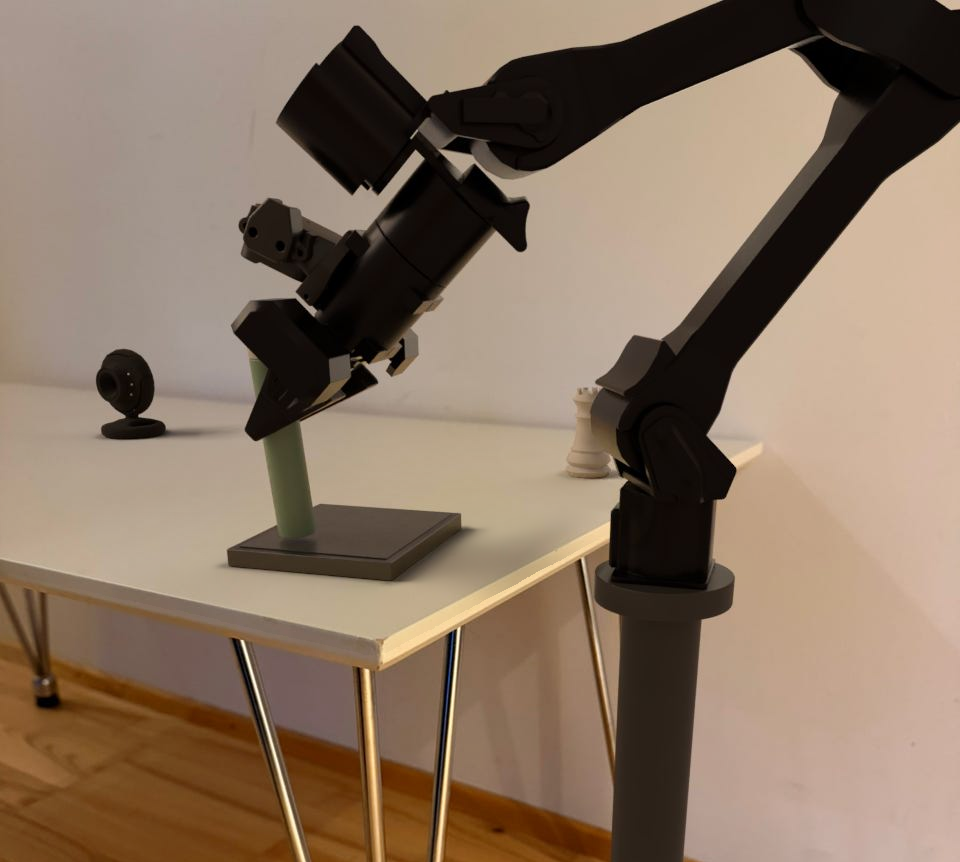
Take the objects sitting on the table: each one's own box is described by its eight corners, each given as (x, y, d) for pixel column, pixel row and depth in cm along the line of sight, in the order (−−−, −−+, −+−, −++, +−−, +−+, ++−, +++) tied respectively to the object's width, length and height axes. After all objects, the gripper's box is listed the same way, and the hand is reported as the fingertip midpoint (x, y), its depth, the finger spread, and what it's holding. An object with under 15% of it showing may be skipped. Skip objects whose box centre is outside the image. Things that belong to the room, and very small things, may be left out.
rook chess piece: (605, 468, 97) (608, 385, 94) (616, 477, 93) (619, 391, 90) (560, 470, 96) (562, 386, 94) (569, 479, 92) (571, 392, 89)
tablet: (461, 528, 76) (461, 512, 75) (391, 581, 63) (390, 562, 63) (320, 518, 79) (319, 502, 79) (228, 566, 67) (226, 548, 66)
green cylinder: (310, 524, 70) (281, 335, 64) (320, 533, 68) (291, 339, 62) (274, 531, 69) (242, 340, 64) (284, 541, 67) (250, 345, 61)
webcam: (87, 436, 118) (74, 350, 115) (135, 427, 124) (124, 345, 121) (132, 441, 115) (120, 352, 111) (180, 432, 121) (170, 347, 117)
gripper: (367, 165, 67) (235, 333, 73) (248, 133, 50) (89, 356, 56) (481, 286, 68) (341, 442, 75) (402, 296, 51) (230, 496, 58)
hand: (260, 432), depth 66 cm, fingers closed on green cylinder, 2 cm apart
